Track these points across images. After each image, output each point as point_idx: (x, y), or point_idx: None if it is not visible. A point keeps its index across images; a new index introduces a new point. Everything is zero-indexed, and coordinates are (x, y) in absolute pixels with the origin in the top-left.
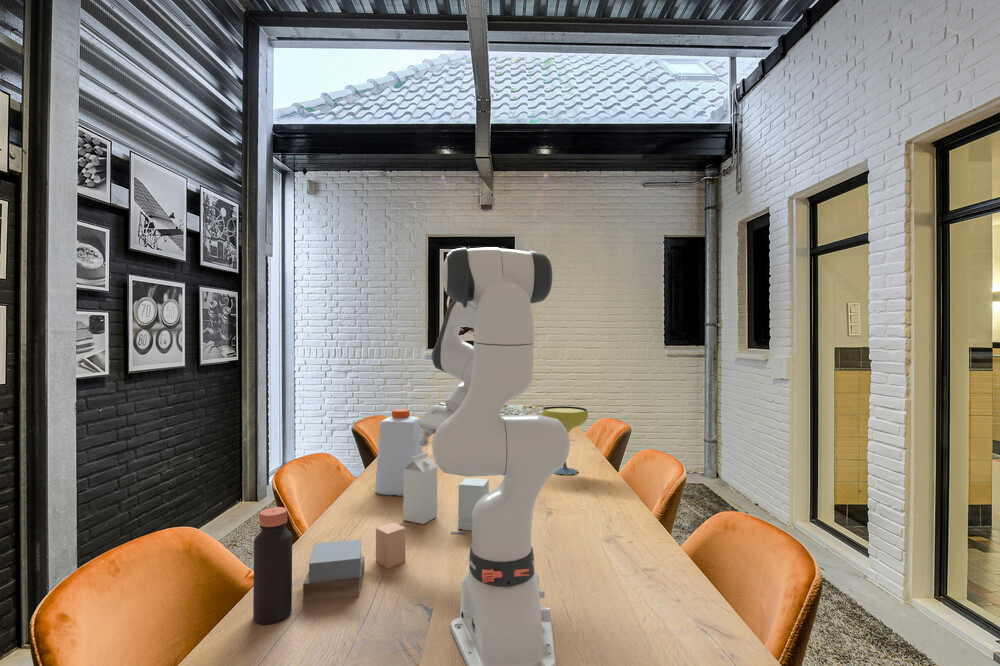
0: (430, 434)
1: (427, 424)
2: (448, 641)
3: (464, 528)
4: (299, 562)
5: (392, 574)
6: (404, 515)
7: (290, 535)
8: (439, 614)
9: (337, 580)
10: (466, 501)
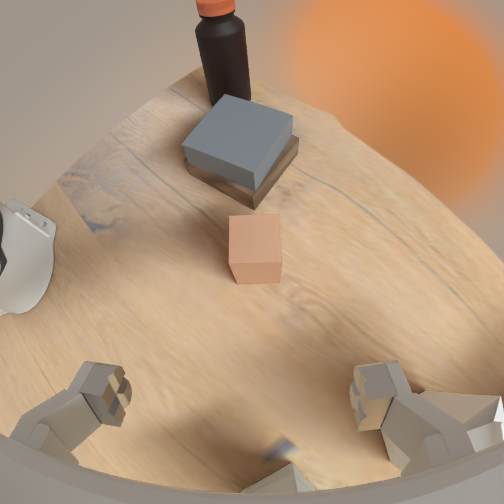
0: (406, 474)
1: (468, 474)
2: (48, 211)
3: (278, 471)
4: (356, 156)
5: (210, 240)
6: (427, 392)
7: (203, 34)
8: (79, 231)
9: None
10: None
